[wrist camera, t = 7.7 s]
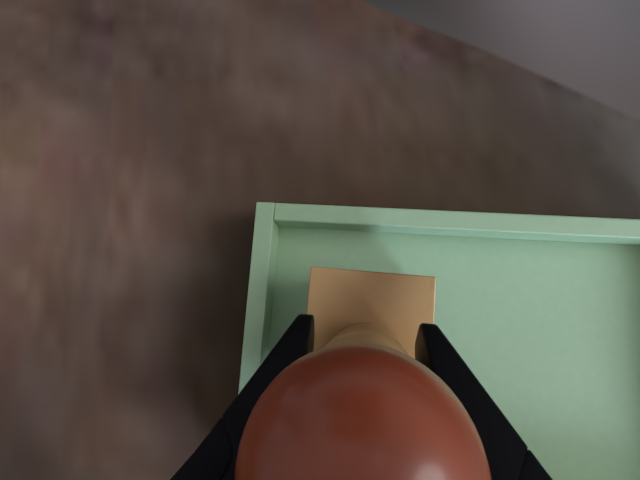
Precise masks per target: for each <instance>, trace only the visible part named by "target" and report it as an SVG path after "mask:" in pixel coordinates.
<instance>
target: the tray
mask: <svg viewBox="0 0 640 480" xmlns="http://www.w3.org/2000/svg"><path fill="white" fill-rule="evenodd" d="M312 266H313V267H325V268H337V269H349V270H361V271H373V272H385V273H397V274H409V275H421V276H433V277H436V290H435V313H434V324H436V325H437V326H438V327H439V328H440V329H441V331H442V332H443V333H444V335H445V336H446V338H447V339H448V340H449V342H450V343H451V344H452V346H453V347H454V348H455V350H456V351H457V352H458V354H459V355H460V356H461V358H462V359H463V360H464V362H465V363H466V364H467V366H468V367H469V368H470V370H471V371H472V372H473V374H474V375H475V377H476V378H477V379H478V381H479V382H480V383H481V385H482V386H483V387H484V389H485V390H486V391H487V393H488V394H489V395H490V397H491V398H492V399H493V401H494V402H495V403H496V405H497V406H498V407H499V409H500V410H501V411H502V413H503V414H504V416H505V417H506V418H507V420H508V421H509V422H510V424H511V425H512V426H513V428H514V429H515V430H516V432H517V433H518V434H519V436H520V437H521V438H522V440H523V441H524V442H525V444H526V445H527V447H528V449H527V450H531V452H532V453H533V454H534V456H535V457H536V458H537V460H538V461H539V462H540V464H541V465H542V466H543V468H544V469H545V470H546V472H547V473H548V474H549V475H550V477H551V478H552V479H553V480H640V219H621V218H598V217H576V216H554V215H532V214H510V213H488V212H465V211H443V210H421V209H399V208H377V207H355V206H333V205H310V204H288V203H270V202H257V203H256V213H255V223H254V234H253V244H252V255H251V265H250V275H249V286H248V296H247V307H246V317H245V328H244V338H243V349H242V359H241V370H240V380H239V391H238V394H239V393H240V392H241V390H242V389H243V388H244V386H245V385H246V384H247V382H248V381H249V380H250V378H251V377H252V376H253V374H254V373H255V372H256V370H257V369H258V368H259V366H260V365H261V364H262V362H263V361H264V360H265V358H266V357H267V356H268V354H269V353H270V352H271V350H272V349H273V348H274V346H275V345H276V344H277V342H278V341H279V340H280V338H281V337H282V336H283V334H284V333H285V332H286V330H287V329H288V328H289V326H290V325H291V324H292V322H293V321H294V320H295V318H296V317H297V316H298V315H299V314H306V312H307V302H308V291H309V281H310V271H311V267H312Z"/></svg>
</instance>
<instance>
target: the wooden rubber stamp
mask: <svg viewBox="0 0 640 480" xmlns="http://www.w3.org/2000/svg"><path fill="white" fill-rule="evenodd" d="M435 290H436V277H433V276H421V275H409V274H397V273H385V272H373V271H361V270H349V269H337V268H325V267H313V266H312V267H311V271H310V281H309V291H308V302H307V312H306V314H312V315H313V316H314V331H315V337H314V349H313V351H312V352H310V353H308V354H306V355H304V356H302V357H301V358H299V359H297V360H295V361H294V362H293V363H291V364H290V365H289V366H287V367H286V368H285V369H284V370H283V371H282V372H280V373H279V374H278V375H277V376H276V377H275V378H274V379H273V381H272V382H271V383H270V384H269V386H268V387H267V388H266V389H265V391H264V392H263V393H262V394H261V396H260V398H259V399H258V401H257V403H256V404H255V406H254V407H253V409H252V412H251V414H250V416H249V418H248V421H247V423H246V425H245V428H244V431H243V434H242V437H241V441H240V444H239V448H238V453H237V459H236V466H235V480H492V479H491V473H490V468H489V464H488V460H487V457H486V454H485V450H484V447H483V443H482V441H481V438H480V436H479V434H478V431H477V429H476V427H475V425H474V423H473V421H472V420H471V418H470V416H469V414H468V413H467V411H466V409H465V408H464V406H463V404H462V403H461V402H460V400H459V399H458V398H457V396H456V395H455V394H454V392H453V391H452V390H451V389H450V388H449V386H448V385H447V384H446V383H445V382H444V381H443V380H442V379H441V378H440V377H439V376H437V375H436V374H435V373H434V372H433V371H431V370H430V369H429V368H428V367H426V366H425V365H423V364H422V363H420V362H419V361H417V360H415V341H416V337H417V333H418V329H419V325H420V324H421V323H431V324H434V313H435Z"/></svg>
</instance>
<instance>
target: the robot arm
mask: <svg viewBox="0 0 640 480" xmlns="http://www.w3.org/2000/svg"><path fill="white" fill-rule="evenodd" d="M314 337H315V331H314V316H313V315H312V314H299V315H298V316H297V317H296V318H295V320H294V321H293V322H292V324H291V325H290V326H289V328H288V329H287V330H286V332H285V333H284V334H283V336H282V337H281V338H280V340H279V341H278V342H277V344H276V345H275V346H274V348H273V349H272V350H271V352H270V353H269V354H268V356H267V357H266V358H265V360H264V361H263V362H262V364H261V365H260V366H259V368H258V369H257V370H256V372H255V373H254V374H253V376H252V377H251V378H250V380H249V381H248V382H247V384H246V385H245V386H244V388H243V389H242V390H241V392H240V393H239V394H238V396H237V397H236V398H235V400H234V401H233V402H232V404H231V405H230V406H229V408H228V409H227V410H226V412H225V413H224V414H223V418H221V419H220V420H219V421H218V422H217V424H216V425H215V426H214V428H213V429H212V430H211V432H210V433H209V434H208V435H207V437H206V438H205V439H204V441H203V442H202V443H201V444H200V446H199V447H198V448H197V449H196V451H195V452H194V453H193V454H192V455H191V456H190V458H189V459H188V460H187V461H186V462H185V463H184V464H183V466H182V467H181V468H180V469H179V470H178V471H177V472H176V474H175V475H174V476H173V477H172V478H171V479H170V480H235V466H236V459H237V453H238V448H239V444H240V441H241V437H242V434H243V431H244V428H245V425H246V423H247V421H248V418H249V416H250V414H251V412H252V409H253V407H254V406H255V404H256V403H257V401H258V399H259V398H260V396H261V394H262V393H263V392H264V391H265V389H266V388H267V387H268V386H269V384H270V383H271V382H272V381H273V379H274V378H275V377H276V376H277V375H278V374H279V373H280V372H282V371H283V370H284V369H285V368H286V367H287V366H289V365H290V364H291V363H293V362H294V361H295V360H297V359H299V358H301V357H302V356H304V355H306V354H308V353H310V352H312V351H313V349H314ZM415 360H417V361H419V362H420V363H422V364H423V365H425V366H426V367H428V368H429V369H430V370H431V371H433V372H434V373H435V374H436V375H437V376H439V377H440V378H441V379H442V380H443V381H444V382H445V383H446V384H447V385H448V386H449V388H450V389H451V390H452V391H453V392H454V394H455V395H456V396H457V398H458V399H459V400H460V402H461V403H462V404H463V406H464V408H465V409H466V411H467V413H468V414H469V416H470V418H471V420H472V421H473V423H474V425H475V427H476V429H477V431H478V434H479V436H480V438H481V441H482V443H483V447H484V450H485V454H486V457H487V460H488V464H489V468H490V473H491V479H492V480H553V479H552V478H551V477H550V475H549V474H548V473H547V472H546V470H545V469H544V468H543V466H542V465H541V464H540V462H539V461H538V460H537V458H536V457H535V456H534V454H533V453H532V452H531V450H527V449H528V447H527V445H526V444H525V442H524V441H523V440H522V438H521V437H520V436H519V434H518V433H517V432H516V430H515V429H514V428H513V426H512V425H511V424H510V422H509V421H508V420H507V418H506V417H505V416H504V414H503V413H502V411H501V410H500V409H499V407H498V406H497V405H496V403H495V402H494V401H493V399H492V398H491V397H490V395H489V394H488V393H487V391H486V390H485V389H484V387H483V386H482V385H481V383H480V382H479V381H478V379H477V378H476V377H475V375H474V374H473V372H472V371H471V370H470V368H469V367H468V366H467V364H466V363H465V362H464V360H463V359H462V358H461V356H460V355H459V354H458V352H457V351H456V350H455V348H454V347H453V346H452V344H451V343H450V342H449V340H448V339H447V338H446V336H445V335H444V333H443V332H442V331H441V329H440V328H439V327H438V326H437V325H436V324H431V323H421V324H420V325H419V329H418V333H417V337H416V341H415Z"/></svg>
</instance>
